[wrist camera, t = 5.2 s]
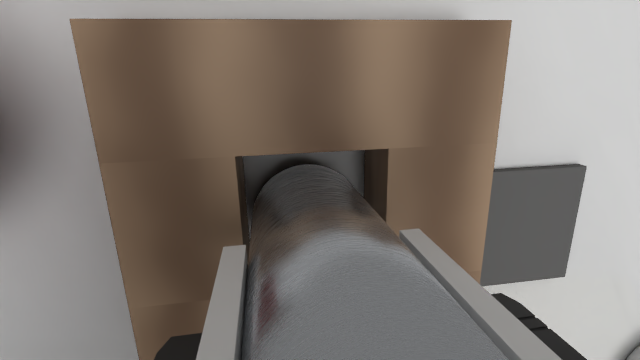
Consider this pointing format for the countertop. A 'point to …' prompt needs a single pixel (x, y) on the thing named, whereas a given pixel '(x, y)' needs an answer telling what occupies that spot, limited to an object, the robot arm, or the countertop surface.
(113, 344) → the countertop surface
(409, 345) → the grey metal cylinder
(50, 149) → the countertop surface
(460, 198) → the frame
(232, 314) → the robot arm
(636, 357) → the ramekin
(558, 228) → the pad
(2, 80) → the countertop surface
